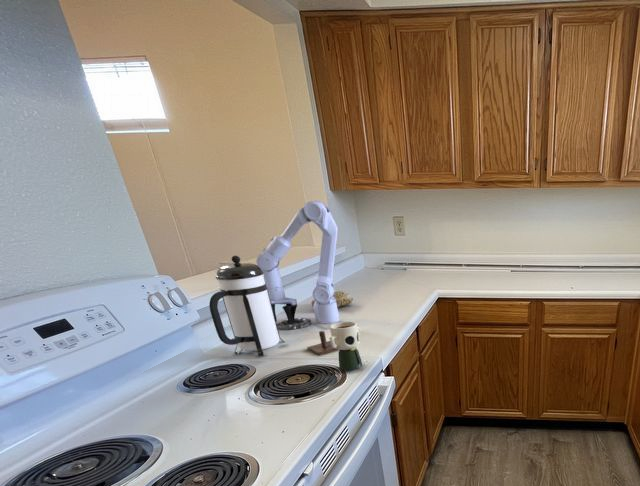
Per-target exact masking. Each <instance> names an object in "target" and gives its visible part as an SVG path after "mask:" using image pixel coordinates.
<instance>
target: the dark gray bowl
mask: <svg viewBox="0 0 640 486" xmlns="http://www.w3.org/2000/svg"><path fill="white" fill-rule="evenodd" d="M312 323H313V321H312V320H311V319H309V318H306V317H295V318H294V323H293V324H289V322H288V319H285V320H281V321H280V322H278V323H276V324H277V326H276V327H277V328H278V331H296V330H301V329H304V328H307V327H309V326H311V325H312Z"/></svg>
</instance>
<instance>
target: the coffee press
mask: <svg viewBox="0 0 640 486" xmlns="http://www.w3.org/2000/svg"><path fill="white" fill-rule="evenodd" d="M231 261H232V264H225V265H222V266H220V267H219V268H218V269H217V271H216V274H215V280H217V283H218V285H219V291H217V292H215V293H214V294H212V295H211V297H210V299H209V311H210V314H211V317H212V318H211V319H212V322H213V325H214V328H215V331H216V334H217V336H218V338H219V340H220V341H221V342H222V343H223V344H226V345H229V346H234V345H237V346H236V347H235V349H234V354H235V355H240V354H241V353H242V351H246V352H257V355H258V357H259V358H260V357H264V356H265V355H264V351H263V350H267V349H270V348H273V347H275V346H276V345H278V344H279V342H280V341H282V342H283V343H285V340H283V339H282V338H281V335H280V332H279V331H280V330H279V329H278V328H277V327H276V326H277V324H278V323H277V322H276V320H275V319H274V318H275V316H274V315H273V314H274V312H273V308H271V307H272V304H270V303H271V300H269V299H270V297H269V296H268V295H269V293H268V292H267V291H268V289H267V285H266V283H265V281H264V276H263V275H264V271H263V270H261V268H260V267H259V266H258V265H257V263H256V264H255V263H250V262H242V263H241V258H240V256H238V255H233V256H231ZM221 299H222V301H223V304H224V308H225V310H226V314H227V317H228V321H229V324H230V327H231V330H232V334H233V337H234V338H230V337H228V335H227V334H226V331H225V328H224V325H223V321H222V318H221V314H220V312H219V308H218V306H219V305H218V304H219V301H220V300H221ZM283 347H285V345H284V346H283ZM237 349H240V350H239V352H236V350H237Z"/></svg>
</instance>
